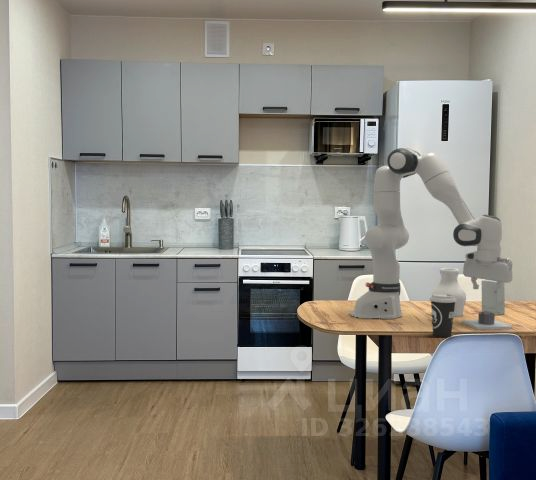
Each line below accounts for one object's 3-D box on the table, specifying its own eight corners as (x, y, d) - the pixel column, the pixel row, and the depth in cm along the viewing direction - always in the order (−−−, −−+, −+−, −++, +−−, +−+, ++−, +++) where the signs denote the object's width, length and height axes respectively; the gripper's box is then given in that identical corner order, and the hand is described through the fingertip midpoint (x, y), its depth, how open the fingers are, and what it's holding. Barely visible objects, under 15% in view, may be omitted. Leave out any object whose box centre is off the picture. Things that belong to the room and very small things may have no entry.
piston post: (478, 329, 250) (478, 314, 249) (462, 322, 263) (462, 308, 263) (511, 329, 252) (512, 313, 251) (494, 322, 265) (494, 307, 265)
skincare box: (504, 314, 284) (506, 280, 283) (496, 315, 280) (497, 281, 279) (488, 311, 291) (490, 278, 290) (480, 312, 287) (481, 279, 286)
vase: (426, 311, 288) (427, 267, 286) (457, 311, 289) (459, 267, 288) (438, 317, 274) (439, 270, 272) (470, 317, 275) (472, 270, 274)
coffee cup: (448, 339, 232) (449, 297, 231) (424, 335, 239) (425, 294, 238) (460, 335, 239) (461, 294, 238) (436, 331, 246) (437, 292, 245)
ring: (482, 324, 254) (483, 314, 254) (475, 321, 260) (476, 312, 260) (497, 324, 255) (497, 314, 255) (489, 321, 261) (490, 311, 261)
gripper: (516, 258, 249) (514, 294, 251) (471, 253, 265) (469, 286, 267) (507, 259, 246) (505, 295, 247) (461, 253, 262) (459, 287, 263)
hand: (486, 290), depth 257 cm, fingers open, 8 cm apart
